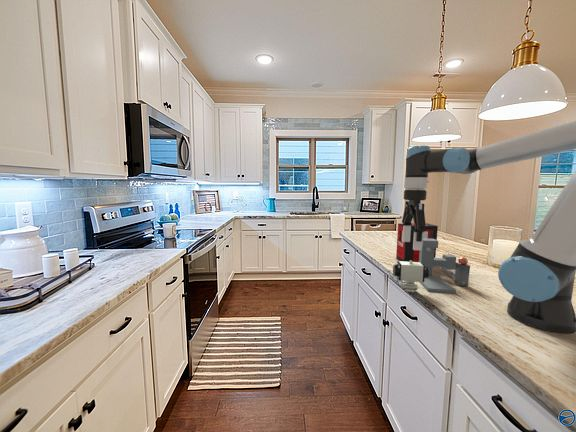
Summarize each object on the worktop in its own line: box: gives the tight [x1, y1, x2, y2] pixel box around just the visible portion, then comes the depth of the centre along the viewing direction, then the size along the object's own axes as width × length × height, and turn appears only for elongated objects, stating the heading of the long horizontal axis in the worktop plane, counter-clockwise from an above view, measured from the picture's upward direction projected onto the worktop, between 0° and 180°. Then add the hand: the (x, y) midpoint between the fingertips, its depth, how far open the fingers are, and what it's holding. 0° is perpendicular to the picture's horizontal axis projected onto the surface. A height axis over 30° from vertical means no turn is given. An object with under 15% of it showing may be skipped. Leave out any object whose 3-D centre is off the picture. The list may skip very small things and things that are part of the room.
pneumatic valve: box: [392, 260, 429, 293], centre depth 98 cm, size 6×12×12 cm, turn 78°
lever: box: [440, 256, 471, 287], centre depth 112 cm, size 20×4×11 cm, turn 171°
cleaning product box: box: [395, 222, 439, 262], centre depth 136 cm, size 16×9×20 cm, turn 94°
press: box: [419, 238, 457, 294], centre depth 107 cm, size 24×18×17 cm
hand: (411, 245), depth 97 cm, fingers open, 13 cm apart
